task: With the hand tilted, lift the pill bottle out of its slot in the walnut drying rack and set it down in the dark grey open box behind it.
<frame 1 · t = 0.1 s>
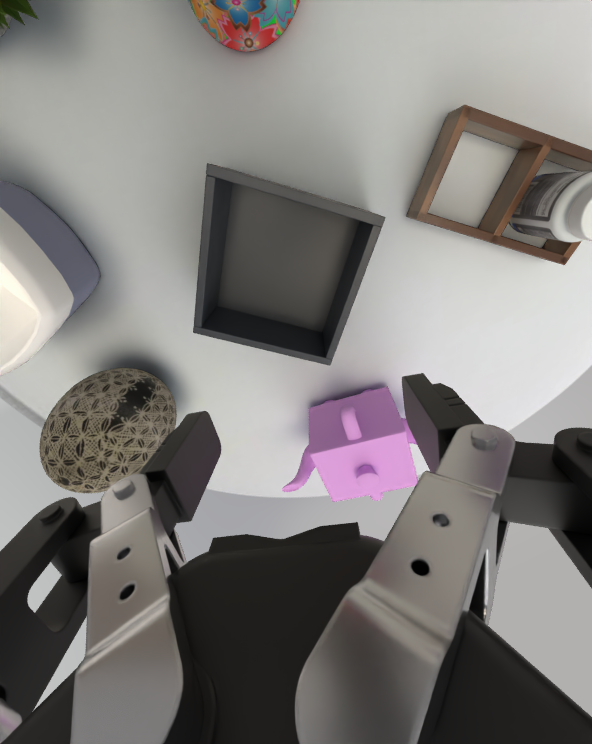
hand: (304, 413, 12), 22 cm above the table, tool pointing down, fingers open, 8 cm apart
teapot: (354, 414, 41), on the table
rack: (500, 193, 27), on the table
pill bottle: (532, 204, 27), resting in rack
dark grey open box: (283, 264, 31), on the table
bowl: (38, 257, 31), on the table
decorative egg: (146, 387, 40), on the table
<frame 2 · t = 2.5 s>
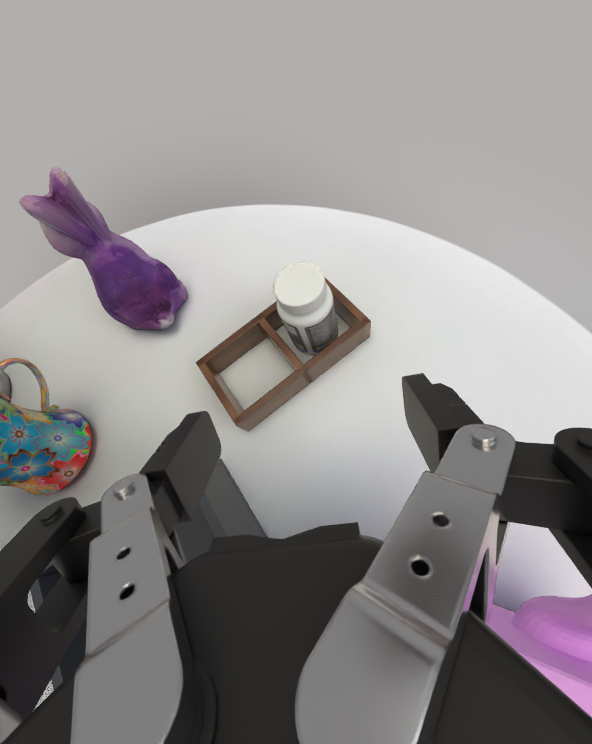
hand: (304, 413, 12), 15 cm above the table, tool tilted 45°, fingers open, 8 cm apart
figurine: (152, 302, 36), on the table
mug: (70, 438, 32), on the table
teapot: (497, 696, 19), on the table
rack: (287, 355, 30), on the table
pill bottle: (314, 335, 30), resting in rack
dark grey open box: (195, 577, 24), on the table
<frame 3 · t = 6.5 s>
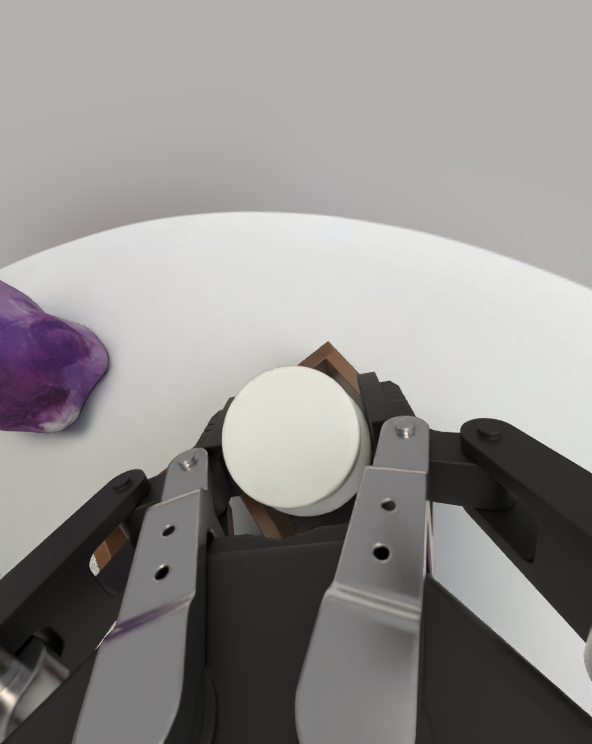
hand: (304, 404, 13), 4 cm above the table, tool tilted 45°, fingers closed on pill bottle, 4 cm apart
figurine: (55, 372, 22), on the table
rack: (271, 499, 16), on the table
pill bottle: (323, 457, 16), resting in rack, touching gripper
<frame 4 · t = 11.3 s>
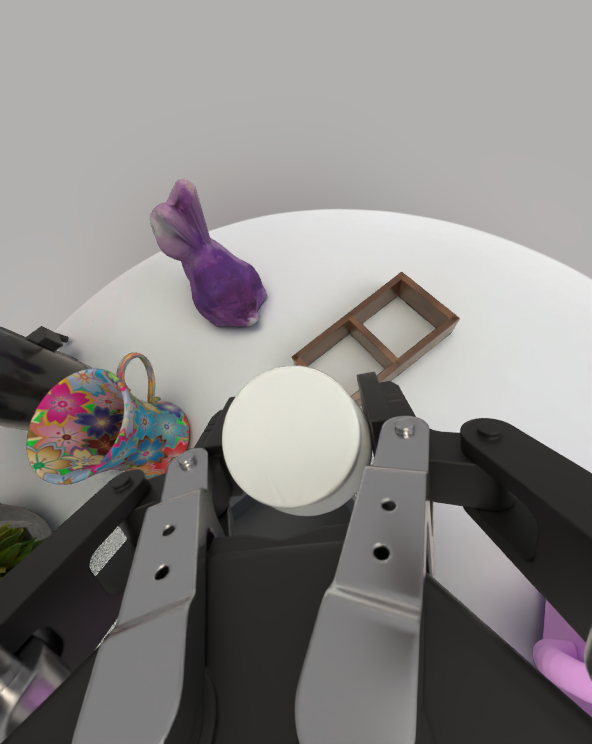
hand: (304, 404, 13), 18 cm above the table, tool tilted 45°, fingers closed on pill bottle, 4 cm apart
figurine: (230, 301, 38), on the table
mug: (165, 428, 34), on the table
potted plant: (40, 555, 32), on the table
rack: (371, 350, 32), on the table
pill bottle: (323, 457, 16), point 14 cm above the table, touching gripper
dark grey open box: (304, 553, 27), on the table
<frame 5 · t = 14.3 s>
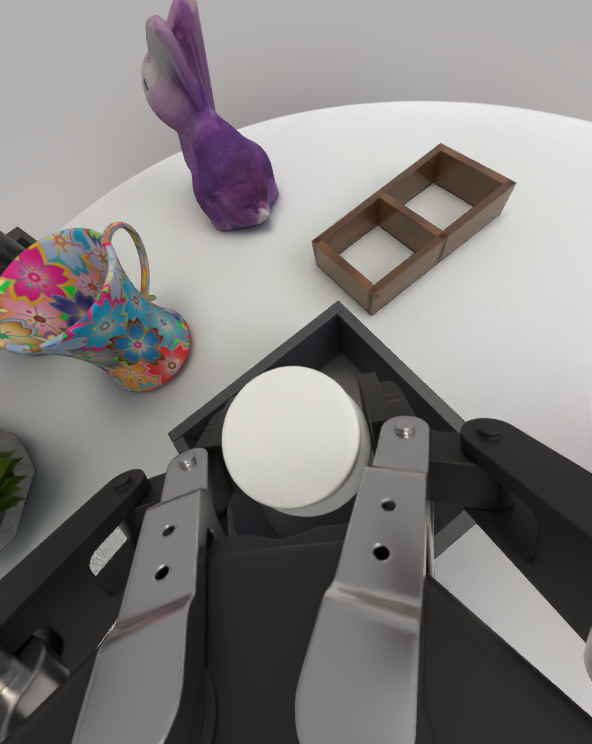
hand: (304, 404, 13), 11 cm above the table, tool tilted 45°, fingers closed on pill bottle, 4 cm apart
figurine: (236, 205, 34), on the table
mug: (161, 340, 29), on the table
potted plant: (14, 484, 27), on the table
rack: (404, 240, 27), on the table
pill bottle: (323, 457, 16), point 6 cm above the table, touching gripper
dark grey open box: (332, 461, 22), on the table
when the fingers open (5 cm above the table, at t = 16.4 s): pill bottle stays where it is, resting on dark grey open box.
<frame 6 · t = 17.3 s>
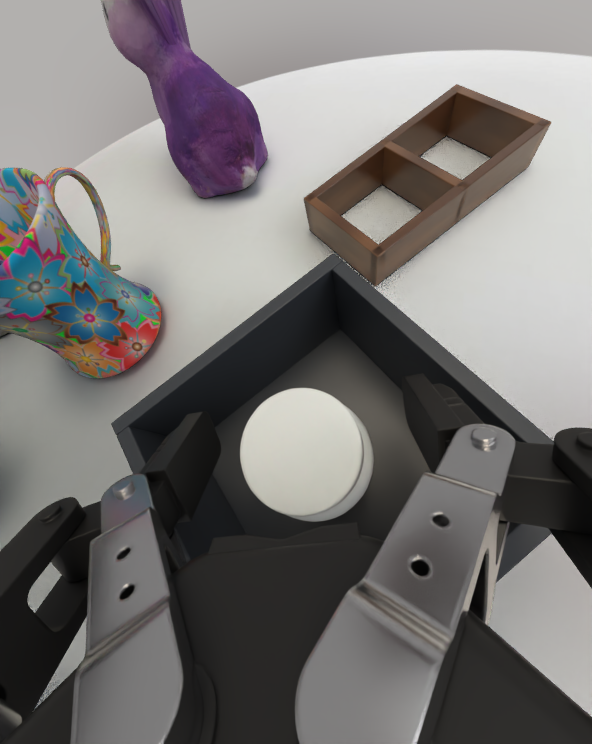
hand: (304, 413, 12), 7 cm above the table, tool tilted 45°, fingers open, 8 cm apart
figurine: (220, 171, 30), on the table
mug: (130, 320, 25), on the table
rack: (414, 200, 23), on the table
pill bottle: (328, 464, 17), resting on dark grey open box
dark grey open box: (327, 461, 18), on the table
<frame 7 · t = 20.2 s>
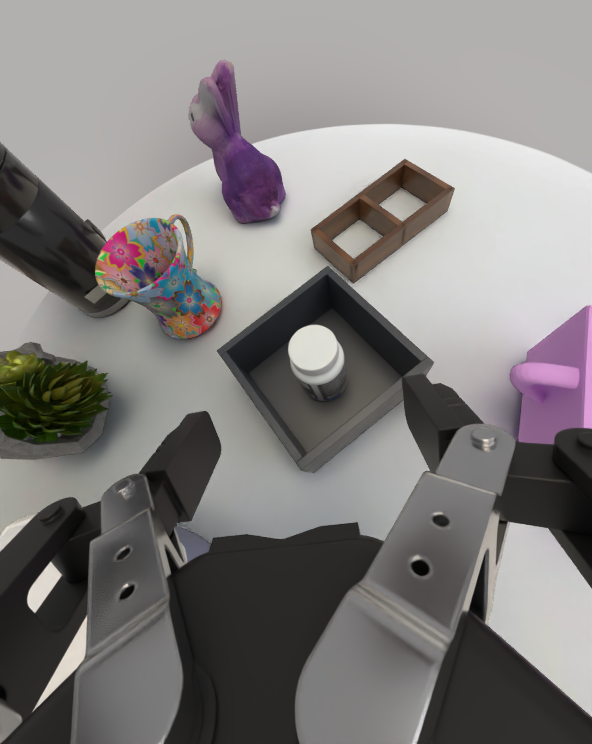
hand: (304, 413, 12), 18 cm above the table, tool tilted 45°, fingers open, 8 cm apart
figurine: (253, 204, 43), on the table
mug: (198, 304, 39), on the table
teapot: (570, 421, 26), on the table
potted plant: (92, 407, 37), on the table
rack: (379, 229, 37), on the table
pill bottle: (324, 380, 31), resting on dark grey open box
dark grey open box: (324, 380, 32), on the table
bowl: (157, 590, 28), on the table
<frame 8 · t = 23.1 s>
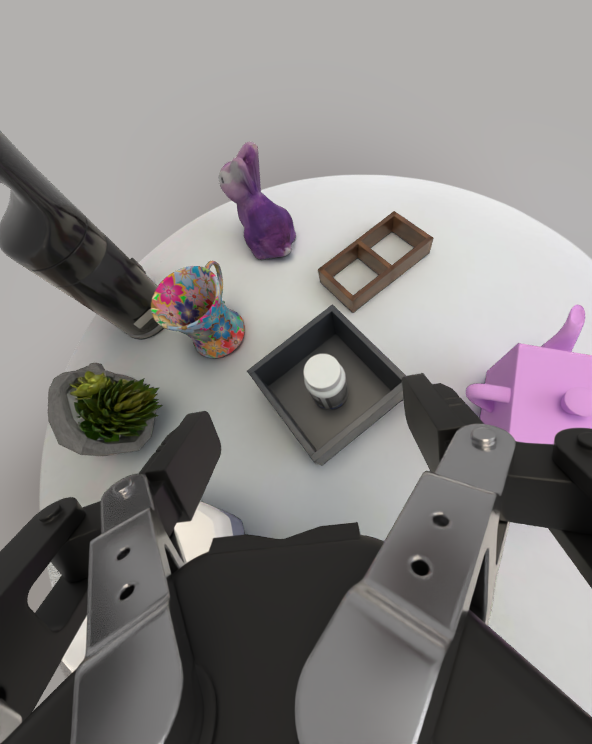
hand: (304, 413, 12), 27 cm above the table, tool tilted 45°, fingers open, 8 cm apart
figurine: (268, 242, 52), on the table
mug: (224, 328, 47), on the table
teapot: (518, 425, 34), on the table
potted plant: (139, 414, 45), on the table
rack: (373, 268, 45), on the table
pill bottle: (330, 393, 39), resting on dark grey open box
dark grey open box: (329, 392, 40), on the table
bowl: (201, 557, 36), on the table
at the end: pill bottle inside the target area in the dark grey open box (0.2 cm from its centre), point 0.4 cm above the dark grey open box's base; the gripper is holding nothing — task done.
